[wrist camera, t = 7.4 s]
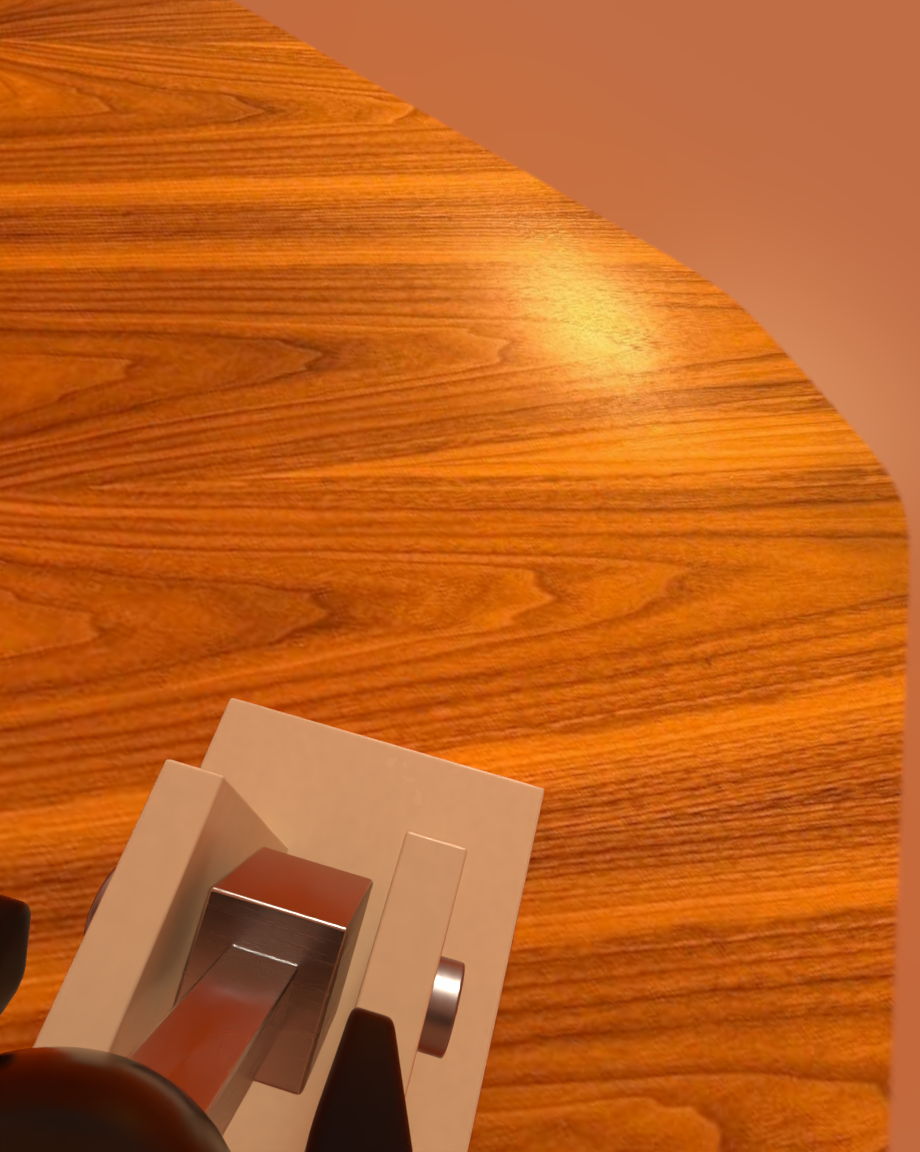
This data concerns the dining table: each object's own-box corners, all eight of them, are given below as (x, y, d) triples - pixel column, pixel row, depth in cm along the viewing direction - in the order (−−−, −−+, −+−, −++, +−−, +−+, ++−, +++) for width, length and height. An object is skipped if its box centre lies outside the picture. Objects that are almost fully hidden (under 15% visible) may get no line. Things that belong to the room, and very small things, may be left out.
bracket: (429, 1298, 16) (464, 1641, 8) (40, 1169, 17) (-306, 1364, 8) (538, 796, 21) (627, 688, 13) (238, 709, 22) (142, 551, 14)
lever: (-60, 2499, 3) (240, 1433, 3) (-898, 2131, 3) (-500, 1175, 3) (364, 1059, 13) (420, 857, 14) (174, 998, 14) (235, 802, 14)
